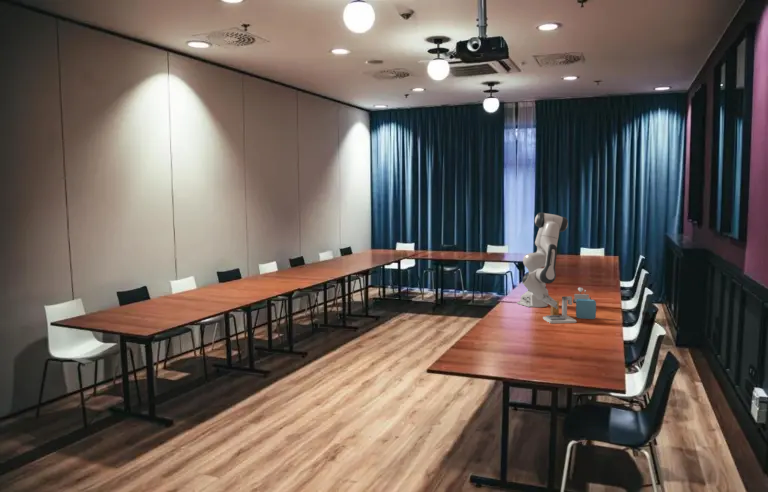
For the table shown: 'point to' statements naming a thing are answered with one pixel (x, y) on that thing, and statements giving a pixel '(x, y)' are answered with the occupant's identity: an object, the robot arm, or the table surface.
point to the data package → (585, 309)
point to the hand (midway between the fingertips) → (555, 307)
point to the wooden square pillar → (555, 311)
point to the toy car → (581, 295)
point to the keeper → (564, 317)
